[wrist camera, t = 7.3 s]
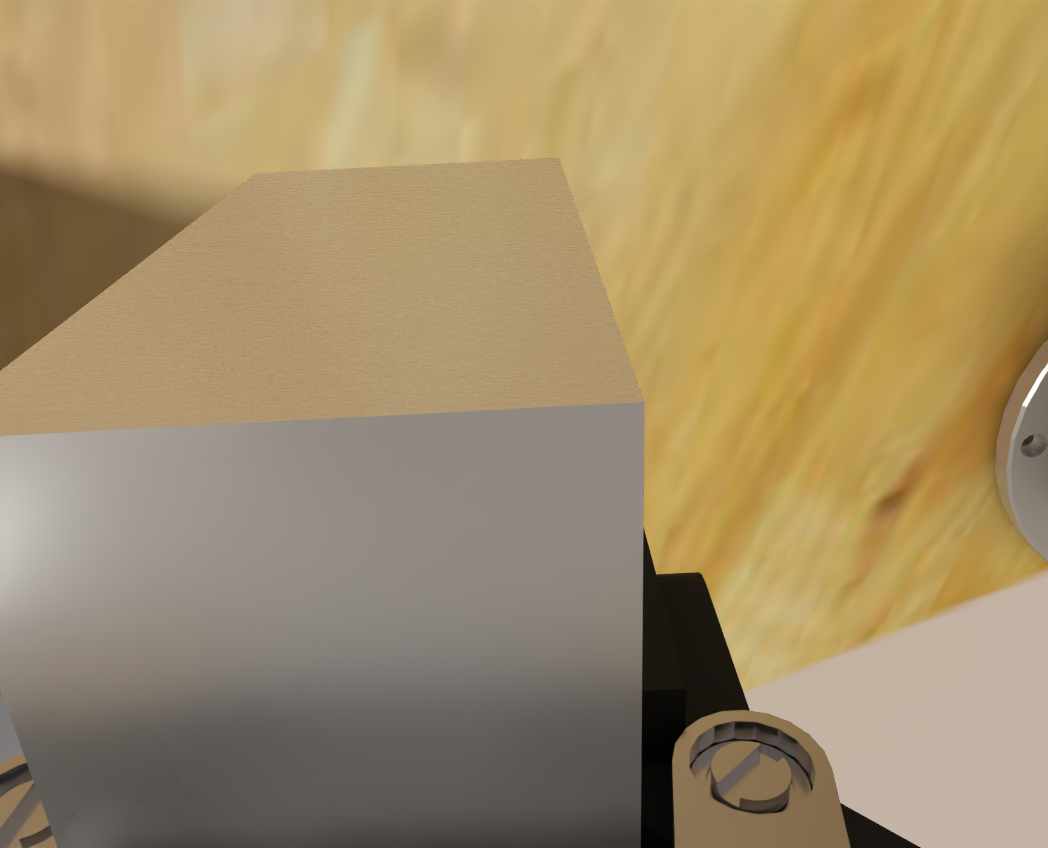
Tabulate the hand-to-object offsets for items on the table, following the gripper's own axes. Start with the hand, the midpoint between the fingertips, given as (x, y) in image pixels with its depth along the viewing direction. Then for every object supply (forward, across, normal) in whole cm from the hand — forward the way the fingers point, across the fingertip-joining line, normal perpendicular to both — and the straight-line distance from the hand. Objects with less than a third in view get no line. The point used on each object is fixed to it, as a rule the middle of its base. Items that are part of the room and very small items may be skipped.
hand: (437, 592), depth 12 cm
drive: (+1, 0, 0) cm, 1 cm away
